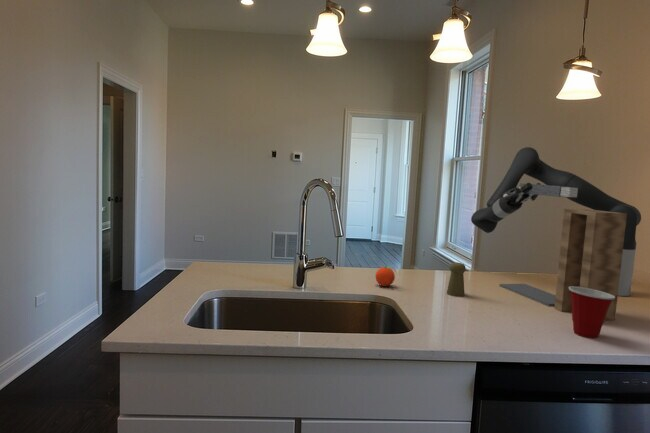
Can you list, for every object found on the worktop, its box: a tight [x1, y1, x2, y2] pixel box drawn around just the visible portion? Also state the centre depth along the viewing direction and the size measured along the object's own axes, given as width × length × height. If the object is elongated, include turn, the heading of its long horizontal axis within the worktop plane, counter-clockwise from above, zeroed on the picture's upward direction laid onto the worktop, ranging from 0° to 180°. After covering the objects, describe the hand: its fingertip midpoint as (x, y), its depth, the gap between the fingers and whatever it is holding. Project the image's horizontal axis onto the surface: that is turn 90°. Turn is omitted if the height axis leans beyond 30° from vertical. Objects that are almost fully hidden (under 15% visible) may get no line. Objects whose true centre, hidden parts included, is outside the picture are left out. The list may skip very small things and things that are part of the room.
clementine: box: [375, 266, 397, 287], centre depth 161 cm, size 8×7×7 cm
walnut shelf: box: [553, 208, 627, 321], centre depth 136 cm, size 11×12×32 cm
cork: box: [446, 262, 467, 298], centre depth 154 cm, size 6×6×11 cm
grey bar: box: [519, 183, 578, 198], centre depth 154 cm, size 4×24×4 cm, turn 14°
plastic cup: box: [569, 286, 615, 339], centre depth 118 cm, size 11×11×12 cm
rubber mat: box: [499, 283, 556, 307], centre depth 158 cm, size 11×26×1 cm, turn 14°
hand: (535, 185), depth 160 cm, fingers closed on grey bar, 3 cm apart
